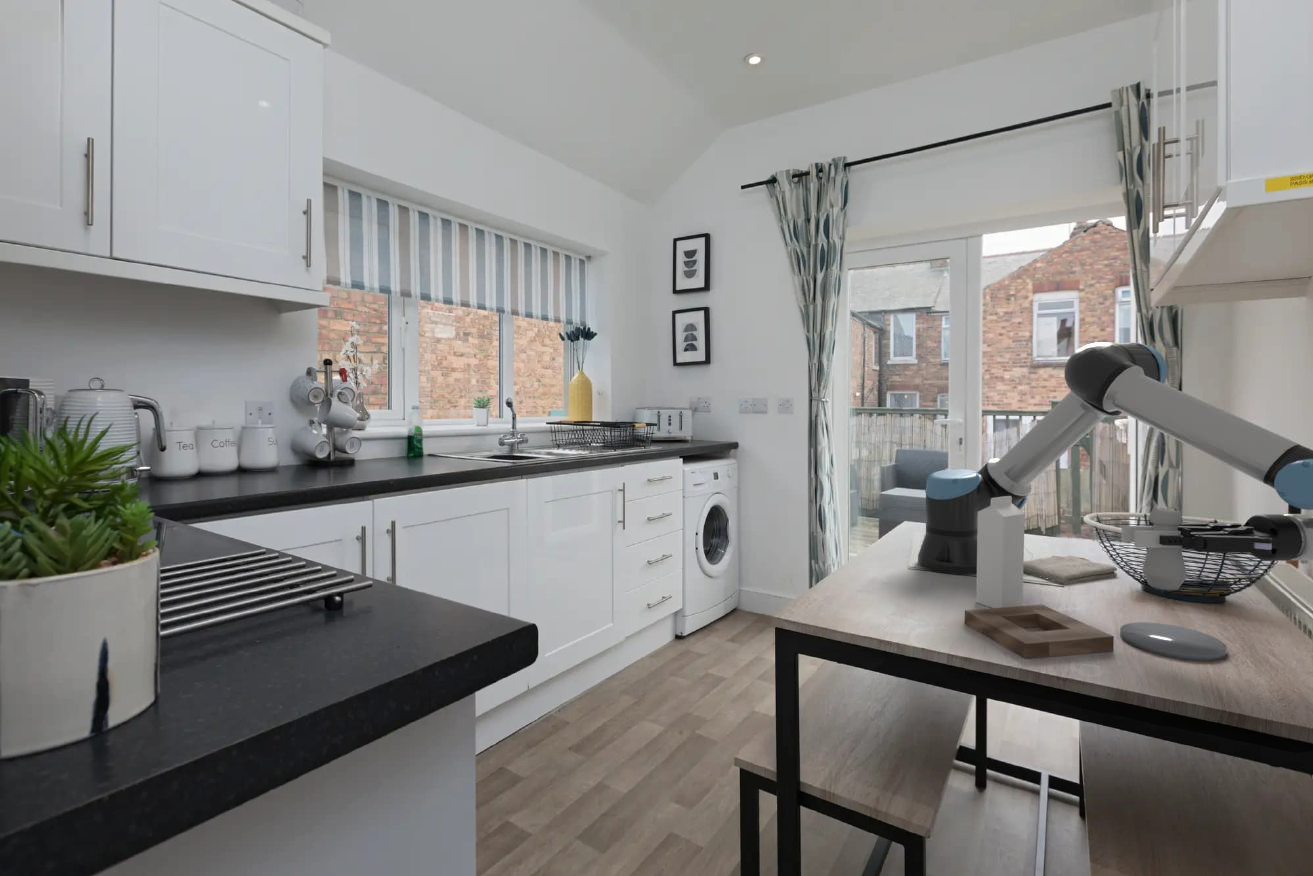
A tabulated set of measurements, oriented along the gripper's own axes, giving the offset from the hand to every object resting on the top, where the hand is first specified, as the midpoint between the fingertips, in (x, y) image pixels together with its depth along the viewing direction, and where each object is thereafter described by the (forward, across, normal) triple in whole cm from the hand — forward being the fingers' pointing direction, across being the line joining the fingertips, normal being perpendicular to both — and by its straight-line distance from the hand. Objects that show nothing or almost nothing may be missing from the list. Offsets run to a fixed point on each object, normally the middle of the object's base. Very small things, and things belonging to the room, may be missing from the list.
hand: (1129, 536), depth 107 cm
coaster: (-7, 0, -18) cm, 20 cm away
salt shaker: (-5, 0, -9) cm, 10 cm away
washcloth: (-11, +42, -19) cm, 47 cm away
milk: (+14, +18, -18) cm, 29 cm away
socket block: (+14, +2, -18) cm, 23 cm away
